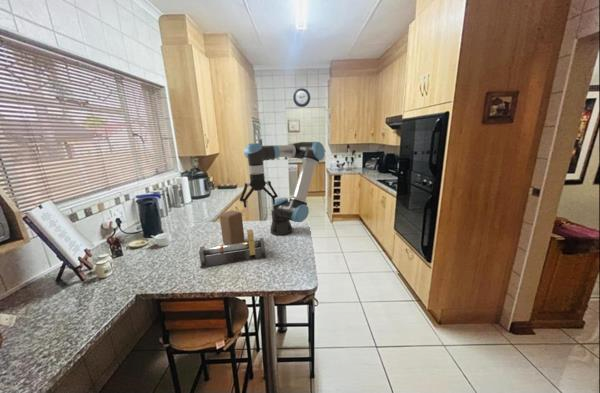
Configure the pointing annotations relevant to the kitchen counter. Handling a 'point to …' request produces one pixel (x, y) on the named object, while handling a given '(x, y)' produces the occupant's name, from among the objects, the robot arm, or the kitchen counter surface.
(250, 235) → the collar
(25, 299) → the kitchen counter surface
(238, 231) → the wooden block
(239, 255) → the pipe rig
